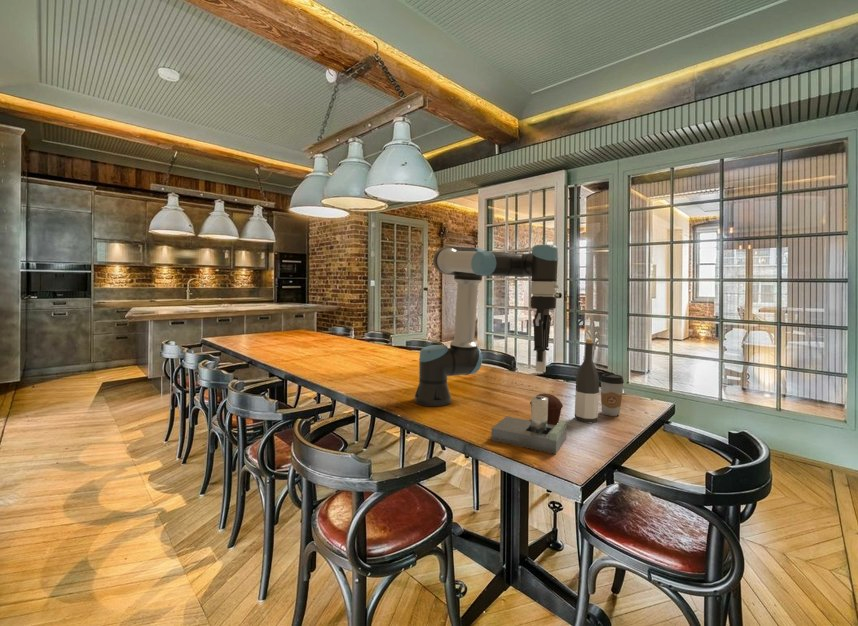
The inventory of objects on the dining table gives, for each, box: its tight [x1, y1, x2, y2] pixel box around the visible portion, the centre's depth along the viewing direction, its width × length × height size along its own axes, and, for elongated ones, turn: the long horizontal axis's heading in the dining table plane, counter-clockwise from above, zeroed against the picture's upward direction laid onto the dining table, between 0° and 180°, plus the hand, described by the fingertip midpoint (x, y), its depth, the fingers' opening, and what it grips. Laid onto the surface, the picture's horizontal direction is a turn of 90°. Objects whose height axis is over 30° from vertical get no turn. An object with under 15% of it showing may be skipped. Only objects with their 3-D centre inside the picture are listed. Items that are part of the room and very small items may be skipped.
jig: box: [490, 416, 568, 455], centre depth 130 cm, size 20×14×6 cm
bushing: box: [530, 395, 548, 435], centre depth 129 cm, size 5×5×14 cm
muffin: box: [529, 393, 564, 425], centre depth 148 cm, size 12×11×10 cm
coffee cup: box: [599, 373, 625, 417], centre depth 160 cm, size 8×8×15 cm
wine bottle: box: [574, 338, 600, 424], centre depth 151 cm, size 8×8×30 cm
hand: (540, 371), depth 128 cm, fingers closed
